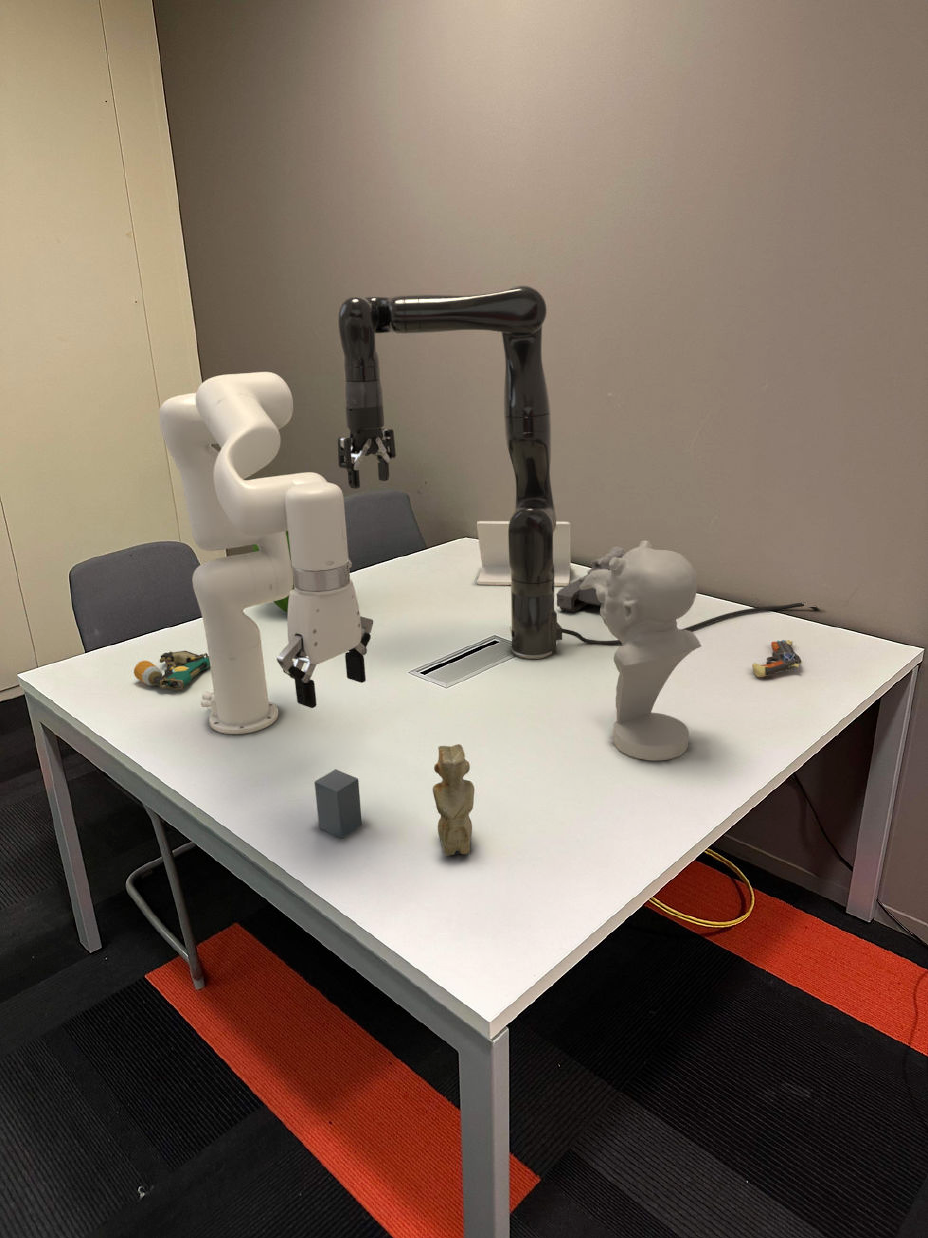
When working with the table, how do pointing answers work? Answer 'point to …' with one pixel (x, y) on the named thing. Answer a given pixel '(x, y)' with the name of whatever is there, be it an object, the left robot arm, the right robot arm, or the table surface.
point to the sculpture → (454, 800)
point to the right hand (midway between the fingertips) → (369, 484)
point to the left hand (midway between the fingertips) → (332, 692)
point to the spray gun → (172, 669)
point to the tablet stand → (497, 553)
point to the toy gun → (778, 659)
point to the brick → (338, 803)
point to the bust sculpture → (646, 643)
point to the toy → (576, 598)
